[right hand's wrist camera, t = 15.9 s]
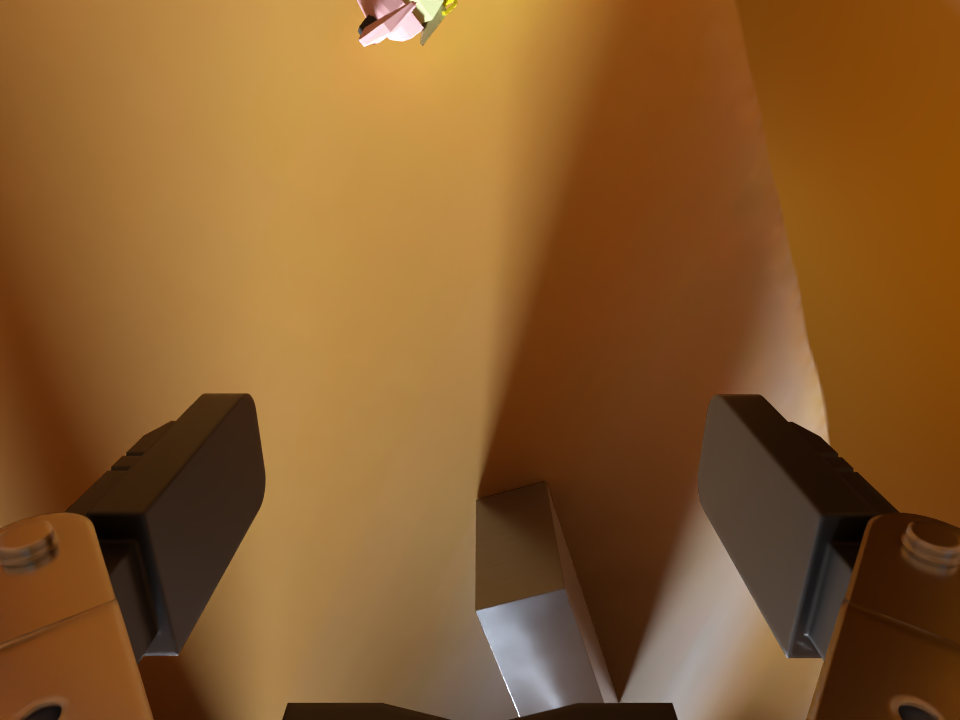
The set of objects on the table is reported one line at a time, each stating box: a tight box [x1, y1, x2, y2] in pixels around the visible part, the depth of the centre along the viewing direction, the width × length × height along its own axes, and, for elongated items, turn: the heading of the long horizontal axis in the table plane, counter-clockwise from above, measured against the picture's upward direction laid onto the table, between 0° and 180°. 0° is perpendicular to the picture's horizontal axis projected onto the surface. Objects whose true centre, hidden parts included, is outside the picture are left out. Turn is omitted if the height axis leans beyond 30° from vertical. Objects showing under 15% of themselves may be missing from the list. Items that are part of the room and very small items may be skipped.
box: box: [475, 481, 619, 717], centre depth 48 cm, size 25×6×12 cm, turn 18°
